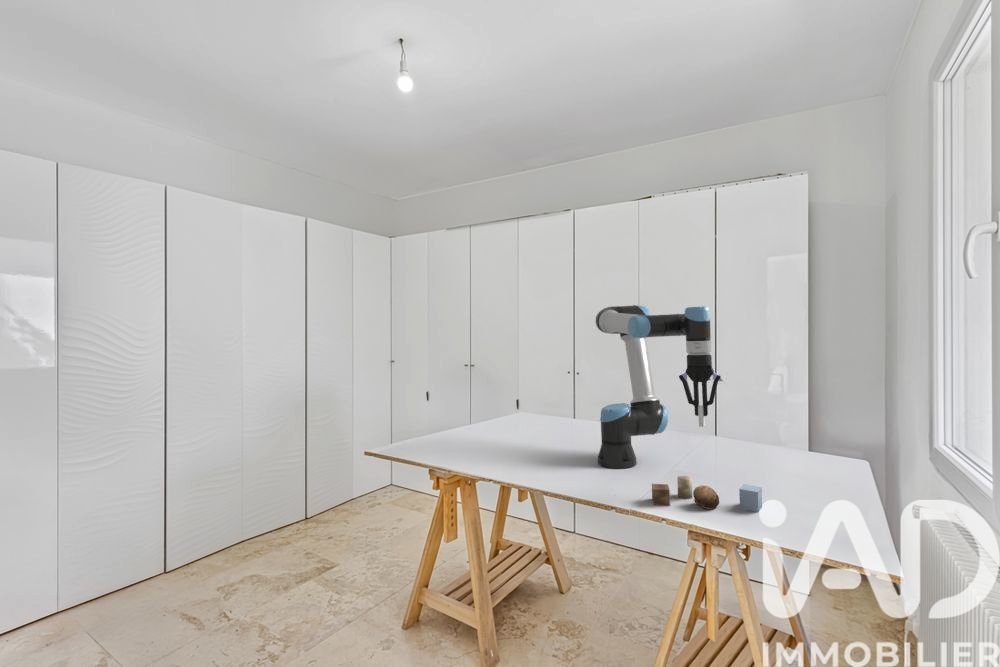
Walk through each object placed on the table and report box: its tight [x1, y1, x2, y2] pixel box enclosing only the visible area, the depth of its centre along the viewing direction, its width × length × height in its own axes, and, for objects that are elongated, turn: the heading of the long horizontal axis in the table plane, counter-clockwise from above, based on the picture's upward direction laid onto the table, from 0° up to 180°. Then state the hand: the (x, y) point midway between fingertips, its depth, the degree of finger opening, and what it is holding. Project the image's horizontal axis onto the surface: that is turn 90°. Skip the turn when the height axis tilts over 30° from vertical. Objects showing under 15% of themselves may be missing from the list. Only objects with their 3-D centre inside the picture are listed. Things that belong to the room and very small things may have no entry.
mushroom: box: [692, 484, 720, 510], centre depth 148 cm, size 8×8×6 cm
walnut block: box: [651, 483, 671, 507], centre depth 152 cm, size 5×5×5 cm
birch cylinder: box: [676, 475, 694, 500], centre depth 156 cm, size 4×4×6 cm
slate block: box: [738, 483, 763, 513], centre depth 145 cm, size 5×5×6 cm
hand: (701, 425), depth 158 cm, fingers closed
